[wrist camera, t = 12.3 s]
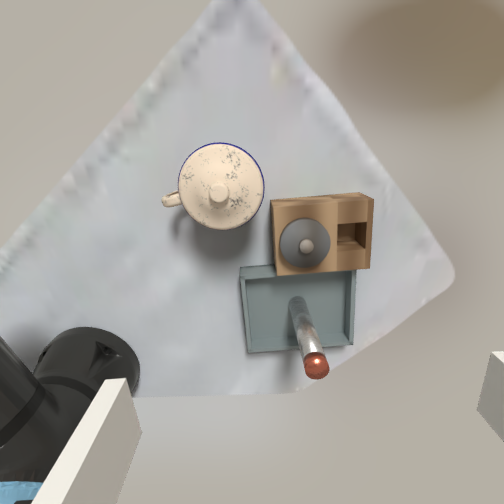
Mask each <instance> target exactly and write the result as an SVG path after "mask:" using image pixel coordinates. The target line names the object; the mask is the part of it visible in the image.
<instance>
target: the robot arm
mask: <svg viewBox="0 0 504 504" xmlns="http://www.w3.org/2000/svg"><path fill="white" fill-rule="evenodd" d="M139 372H140V367H139V362H138V359H137V357H136V355H135V353H134V351H133V350H132V349H131V347H130V346H129V345H128V344H127V343H126V342H125V341H123V340H122V339H121V338H119V337H118V336H116V335H114V334H112V333H110V332H108V331H105V330H102V329H98V328H92V327H78V328H73V329H69V330H66V331H64V332H62V333H61V334H59V335H58V336H56V337H55V338H54V339H53V340H52V341H51V342H50V343H49V344H48V345H47V347H46V348H45V349H44V350H43V352H42V354H41V356H40V358H39V361H38V364H37V366H36V368H35V370H34V372H33V374H32V373H31V372H30V371H29V370H28V368H27V367H26V366H25V365H24V364H23V363H22V362H21V360H20V359H19V358H18V357H17V356H16V354H15V353H14V352H13V351H12V350H11V348H10V347H9V346H8V345H7V344H6V342H5V341H4V340H3V339H2V338H1V337H0V504H116V503H117V500H118V497H119V494H120V492H121V489H122V486H123V483H124V480H125V478H126V475H127V472H128V470H129V467H130V464H131V461H132V459H133V456H134V453H135V450H136V448H137V445H138V442H139V439H140V436H141V434H142V431H141V428H140V424H139V421H138V417H137V414H136V410H135V407H134V404H133V400H132V397H131V393H132V391H133V389H134V387H135V385H136V383H137V380H138V378H139ZM477 411H478V412H479V413H480V414H481V415H482V417H483V418H484V419H485V420H486V421H487V423H488V424H489V425H490V426H491V427H492V429H493V430H494V431H495V432H496V433H497V434H498V436H499V437H500V438H501V439H502V440H503V442H504V351H500V352H491V355H490V359H489V363H488V367H487V371H486V375H485V379H484V383H483V387H482V391H481V395H480V399H479V403H478V407H477Z"/></svg>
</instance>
